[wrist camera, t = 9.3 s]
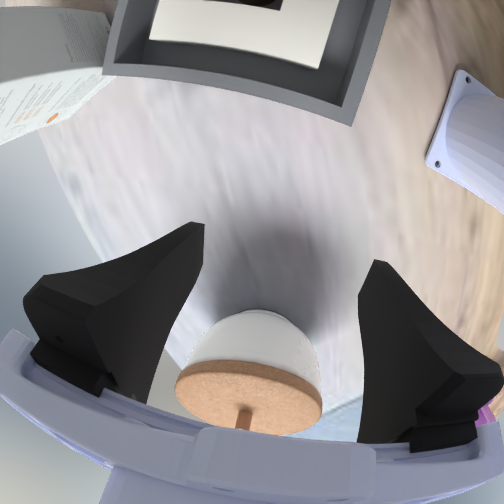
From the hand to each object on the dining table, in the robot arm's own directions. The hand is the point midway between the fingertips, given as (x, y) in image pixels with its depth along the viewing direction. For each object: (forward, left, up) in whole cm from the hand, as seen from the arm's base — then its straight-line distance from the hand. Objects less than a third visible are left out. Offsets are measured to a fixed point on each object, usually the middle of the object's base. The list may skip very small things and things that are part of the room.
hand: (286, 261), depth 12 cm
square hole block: (+6, -13, -9) cm, 17 cm away
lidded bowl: (-2, +16, -10) cm, 19 cm away
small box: (+19, -6, -10) cm, 22 cm away
